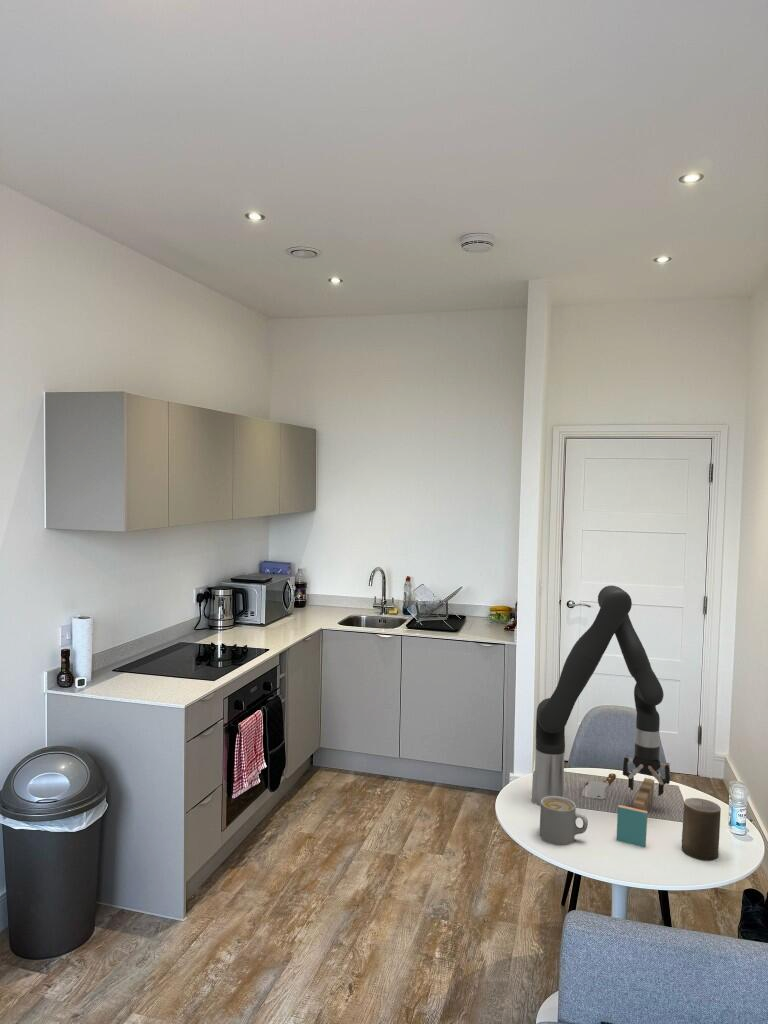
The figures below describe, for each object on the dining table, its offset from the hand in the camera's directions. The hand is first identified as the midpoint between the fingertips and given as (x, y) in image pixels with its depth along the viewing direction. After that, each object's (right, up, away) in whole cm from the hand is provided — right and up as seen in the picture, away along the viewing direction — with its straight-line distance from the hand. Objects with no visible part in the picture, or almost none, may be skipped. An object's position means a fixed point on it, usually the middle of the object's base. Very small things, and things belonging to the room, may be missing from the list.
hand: (645, 792), depth 231 cm
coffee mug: (-32, -5, -21) cm, 39 cm away
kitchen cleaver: (-10, -5, +17) cm, 20 cm away
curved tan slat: (-1, -6, 0) cm, 6 cm away
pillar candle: (+6, -7, -26) cm, 28 cm away
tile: (-13, -6, -23) cm, 27 cm away
